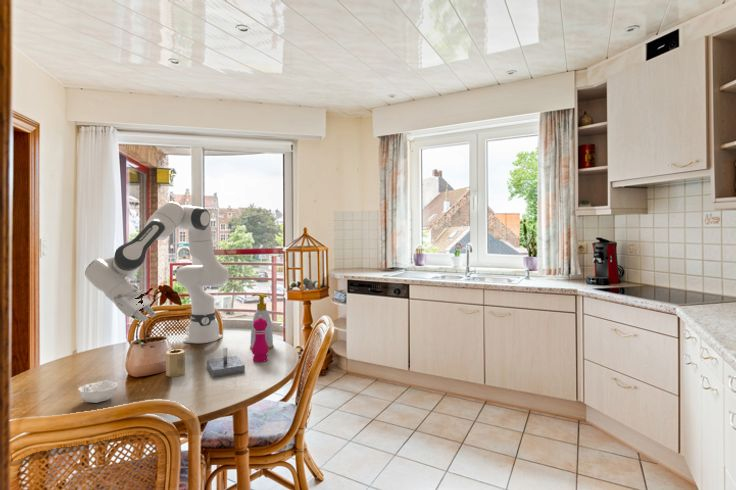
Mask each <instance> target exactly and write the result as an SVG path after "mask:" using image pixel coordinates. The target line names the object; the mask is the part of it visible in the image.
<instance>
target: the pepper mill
mask: <svg viewBox="0 0 736 490" xmlns="http://www.w3.org/2000/svg"><path fill="white" fill-rule="evenodd" d="M258 318H259V319H256V320H255V321H254V323H253V327H254V328H255V330H254V331H255V332H254V333H255V336H256V337H255V342H254V345H253V347H252V349H251V353H252V355H253V356H252V361H253V362H254V363H263V362H264V363H265V362H266V361H268V355H267V354H268V353H269V350H270V349H269V348H268V345H267V342H266V340H265V333H266V329H265V328H266V327H267V321H266V320H265V319H262V316H261V315H259V316H258Z"/></svg>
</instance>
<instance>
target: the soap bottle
mask: <svg viewBox="0 0 736 490" xmlns="http://www.w3.org/2000/svg"><path fill="white" fill-rule="evenodd" d="M251 296H252V297H256V296H258V297H259V302H258V303H256V311H255V312H254V315H253V318H252V322H251V323H252V324H251V331H250V345H249V348H250V350H252V347H253V345H254V342H255V337H256V336H255V333H254V332H255V331H254V330H255V328H254V327H253V323H254V321H255V320H256V319H259V318H258V316H259V315H261V316H262V319H265V320H266V321H267V327H266V328H265V329H266V333H265V340H266V342H267V345H268V348H269V350H271V349H272V347H273V348H274V343H273V342H274V339H273V337H274V336H273V327H272V321H271V316H270V314H269V311H268V310H267V302H265V298H268V295H267V294H264V293H255V294H252V295H251ZM270 348H271V349H270Z"/></svg>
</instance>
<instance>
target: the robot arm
mask: <svg viewBox="0 0 736 490" xmlns="http://www.w3.org/2000/svg"><path fill="white" fill-rule="evenodd" d="M177 228H178V229H182V230H183V229H185V230H188V248H189V254H190V256H191V257H192V258H193V259H195V260H197V261H199V262H200V263H201V264H188V265H183V266H180V267H179V268H178V269H177V271H176V273H175V279H176V282H177V283H178V284H179V285H180V286H181V287H183V288H184V289H185V291H186V292H187V293H188V295H189V298H190V305H191V313H190V322H189V324H188V325H187V327H185V332H186V333H185V335H184V338H183V343H186V344H206V343H207V344H208V343H213V342H215V341H217V340H219V339H222V338H223V335H222V334H220V328H219V326H220V325H219V321H217V320H216V317H217V316H216V315H217V314H216V311H215V307H216V306H215V305H216V304H215V301H216V300H215V297H214V296H213V295H212V294H211V293H209V292H207V291H206V290H205V289H204V287H218V286H219V287H220V286H223V285H224V286H225V285H226V284H227V282H228V281H229V279H230V272H229V270H228V268H227V267H226V266H225V265H224V264H222V263H220V261H219V259H217V257H216V256H215V255H216V254H215V252H214V245H213V244H214V243H213V233H212V232H213V231H212V227H211V214H210V212H209V211H208V209H207V208H204V207H201V206H193V205H181V204H179V203H178V202H175V201H168V202H166V203H164V204H162V205H161V206H159V208H158V209H156V210H155V211H154V212H153V214H151V215H150V217H149V218H148V219H147V221H146V223H145V225H144V227H143V229H142V230H141V231H140V232H139V233H138V234H137V235H136V236H135V237H134V238H133V239H132V240H131V241H129V242H126V243H123V244H122V245H120V246H118V247H117V248H116V249H115V252H114V256H113V257H109V258H96V259H94V260H93V261H92V262H90V264H88V266H87V267H86V269H85V272H84V276H85V277H86V278H87V280H88V281H89V282H90V283H91V284H92V285H93V286H94V287H95V288H96V289H98V290H99V291H101V292H102V293H104V295H105V297H106V298H108V299H109V300H110V301H111V302H112V303H113V304H114V305H115V306H116V307H117V309H118V310H119V311H120V312H121V313H123V315H124V316H126V317H128V318H131V317H133V316H134V317H135V318H136V319H139V320H141V321H142V322H143V323H144V322H147V320H149V317H150V318H153V317H155V316H156V312H155V311H154V310H153V308H152V307H151V305H150V304H152V301H151V300H150V299H149V298H148V296H146V295H145V296H143V298H142V300H143V303H142V304H141V303H138V302H139V301H140V299H135V298H137V297H138V296H140V295H141V294H144V293H143V292H142V291H141V290H140V288H139V287H138V286H137V285H135V284H132V283H130V282H129V281H128V280H129V279H132V278H133V277H135V276H136V275H137V273H138V272H139V270H140V268H141V266H142V264H143V263H144V261H145V259H146V254H147V252H148V250H149V248H150V247H152V245H153V244H154V243H155V242H156V240H157V241H163V240H165V239H167V238H168V237H169V236H170V235H172V233H173V232H175V230H176V229H177ZM136 304H137V305H136ZM143 305H144V306H143ZM142 308H144V310H143V311H144V312H146V313H147V314H148V316H149V317H148V316H147V315H146V314H143V313H142V311H139V310H140V309H142Z"/></svg>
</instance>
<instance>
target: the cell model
mask: <svg viewBox="0 0 736 490" xmlns="http://www.w3.org/2000/svg"><path fill="white" fill-rule="evenodd" d="M119 385H120V384H119V382H118V381H116V380H109V379H108V380H107V379H105V380H100V381H94V382H90V383H86V384H83V385H81V386H79V387H78V388H77V390H78V392H79V396H80V398H81V400H82V401H84V402H86V403H92V404H93V403H95V404H98V403H101V402H105V401H108V400H109V399H112V397H114V395H115V393H116V392H117V390H118V388H119Z"/></svg>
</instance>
